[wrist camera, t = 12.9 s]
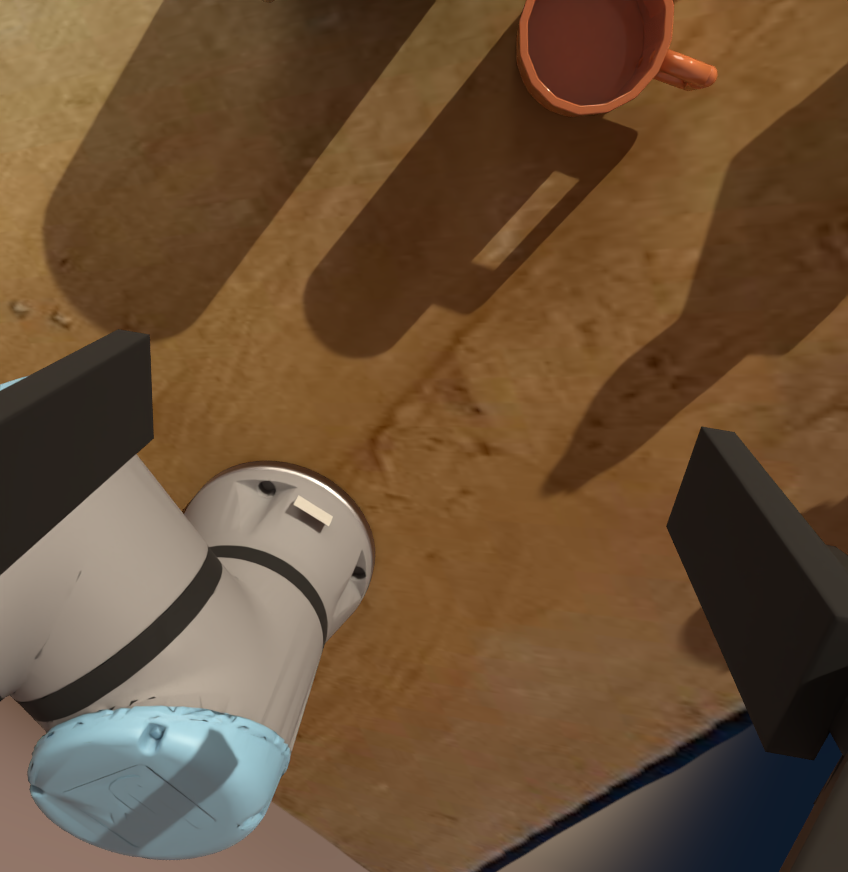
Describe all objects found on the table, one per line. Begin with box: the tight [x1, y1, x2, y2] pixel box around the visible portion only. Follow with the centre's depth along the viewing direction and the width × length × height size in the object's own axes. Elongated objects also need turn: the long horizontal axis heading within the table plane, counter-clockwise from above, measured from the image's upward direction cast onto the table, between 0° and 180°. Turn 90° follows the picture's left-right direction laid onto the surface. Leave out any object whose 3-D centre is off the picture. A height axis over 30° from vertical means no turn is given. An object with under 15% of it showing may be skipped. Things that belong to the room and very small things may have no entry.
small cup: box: [516, 0, 717, 117], centre depth 34 cm, size 10×7×6 cm
